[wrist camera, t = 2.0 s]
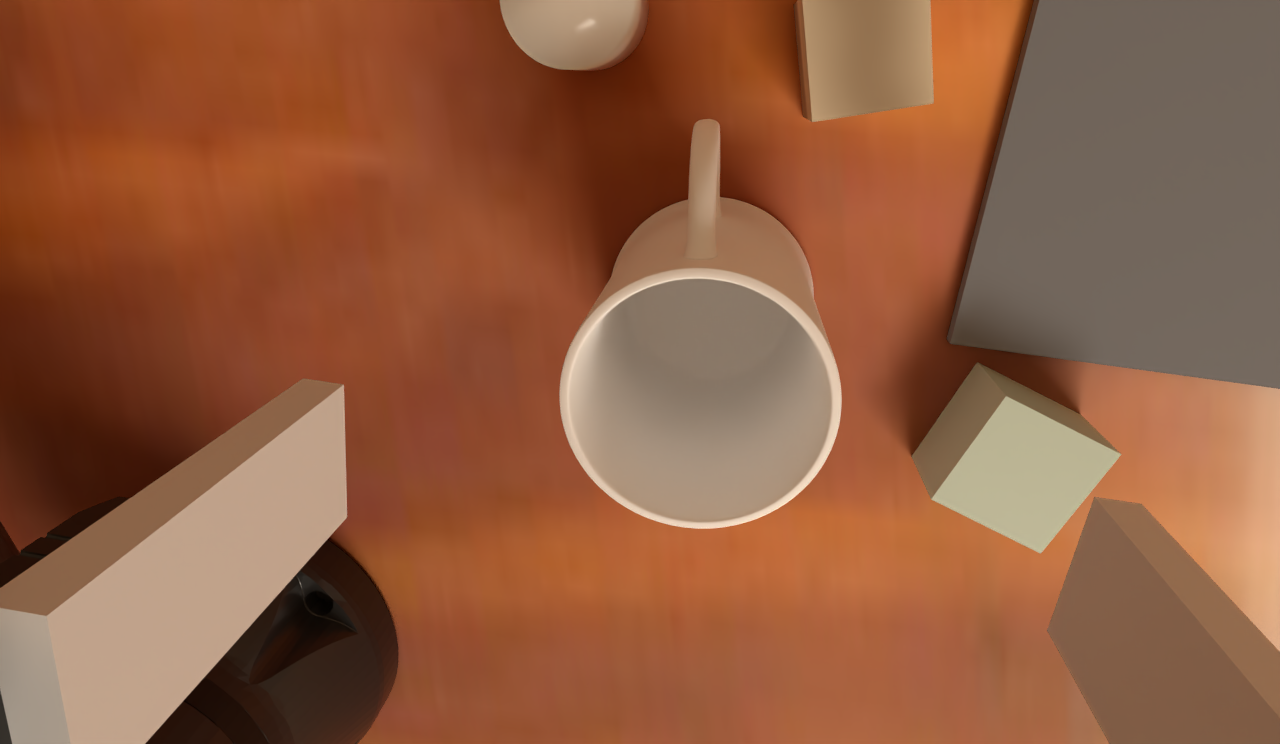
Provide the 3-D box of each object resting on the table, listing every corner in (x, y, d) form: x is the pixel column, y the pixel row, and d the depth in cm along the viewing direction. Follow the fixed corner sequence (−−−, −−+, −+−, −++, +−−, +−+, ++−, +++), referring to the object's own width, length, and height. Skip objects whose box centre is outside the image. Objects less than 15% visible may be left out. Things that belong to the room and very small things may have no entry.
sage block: (911, 455, 36) (931, 499, 32) (976, 361, 34) (1006, 396, 30) (1009, 504, 36) (1040, 553, 32) (1079, 413, 34) (1121, 454, 30)
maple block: (802, 116, 31) (812, 121, 27) (793, 5, 30) (801, -6, 26) (909, 100, 31) (933, 103, 27) (904, -15, 29) (929, -28, 26)
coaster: (946, 339, 33) (950, 343, 33) (1042, -34, 29) (1048, -36, 28) (1297, 387, 33) (1306, 392, 32) (1459, 10, 28) (1474, 9, 27)
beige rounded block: (531, 63, 32) (496, 61, 27) (538, -62, 30) (502, -87, 25) (642, 76, 31) (625, 77, 27) (655, -49, 30) (640, -73, 25)
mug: (623, 102, 32) (561, 117, 21) (841, 121, 31) (901, 146, 20) (604, 380, 36) (544, 518, 25) (796, 402, 35) (825, 554, 24)
